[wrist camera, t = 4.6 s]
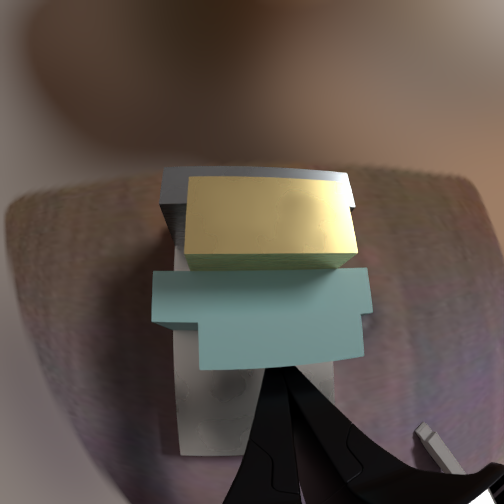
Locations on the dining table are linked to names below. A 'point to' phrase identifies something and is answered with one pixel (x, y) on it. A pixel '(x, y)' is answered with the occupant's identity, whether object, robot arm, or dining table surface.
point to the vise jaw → (266, 314)
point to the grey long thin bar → (438, 450)
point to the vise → (187, 341)
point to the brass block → (267, 224)
